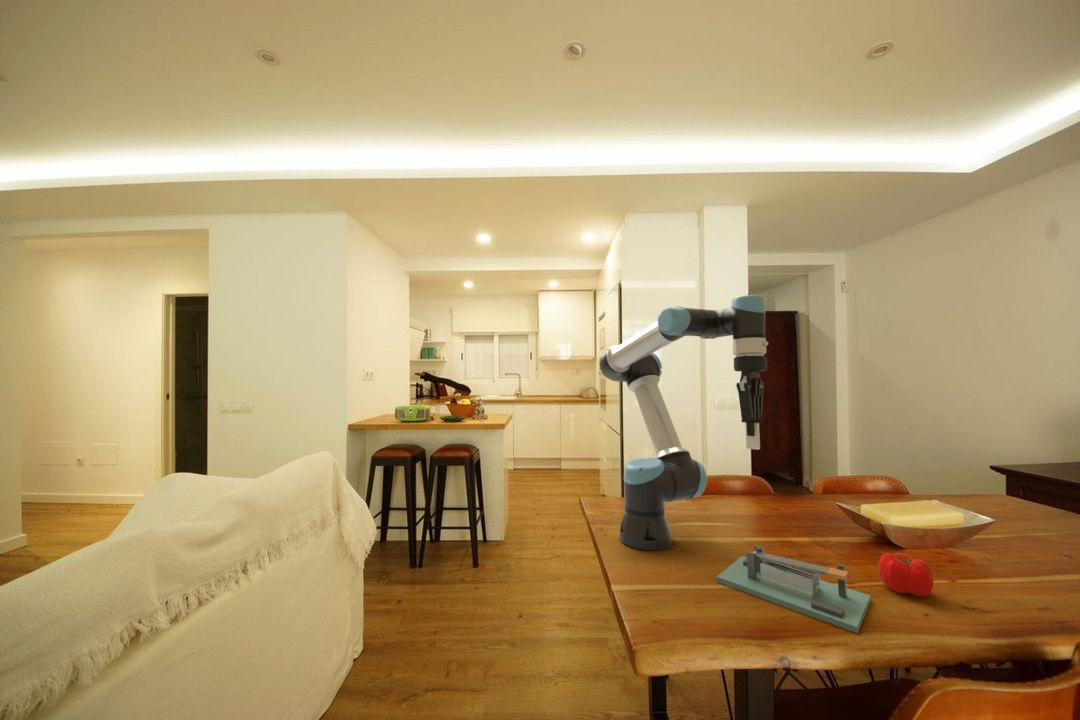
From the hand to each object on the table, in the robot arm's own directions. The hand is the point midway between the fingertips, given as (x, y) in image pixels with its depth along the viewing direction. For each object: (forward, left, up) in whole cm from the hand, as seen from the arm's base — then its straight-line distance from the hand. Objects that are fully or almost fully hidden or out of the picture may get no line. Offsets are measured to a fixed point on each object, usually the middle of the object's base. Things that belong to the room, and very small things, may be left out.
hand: (753, 448), depth 98 cm
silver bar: (+9, -4, -29) cm, 31 cm away
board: (+8, -4, -30) cm, 32 cm away
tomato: (+26, +15, -31) cm, 43 cm away
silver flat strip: (+9, -4, -25) cm, 27 cm away
